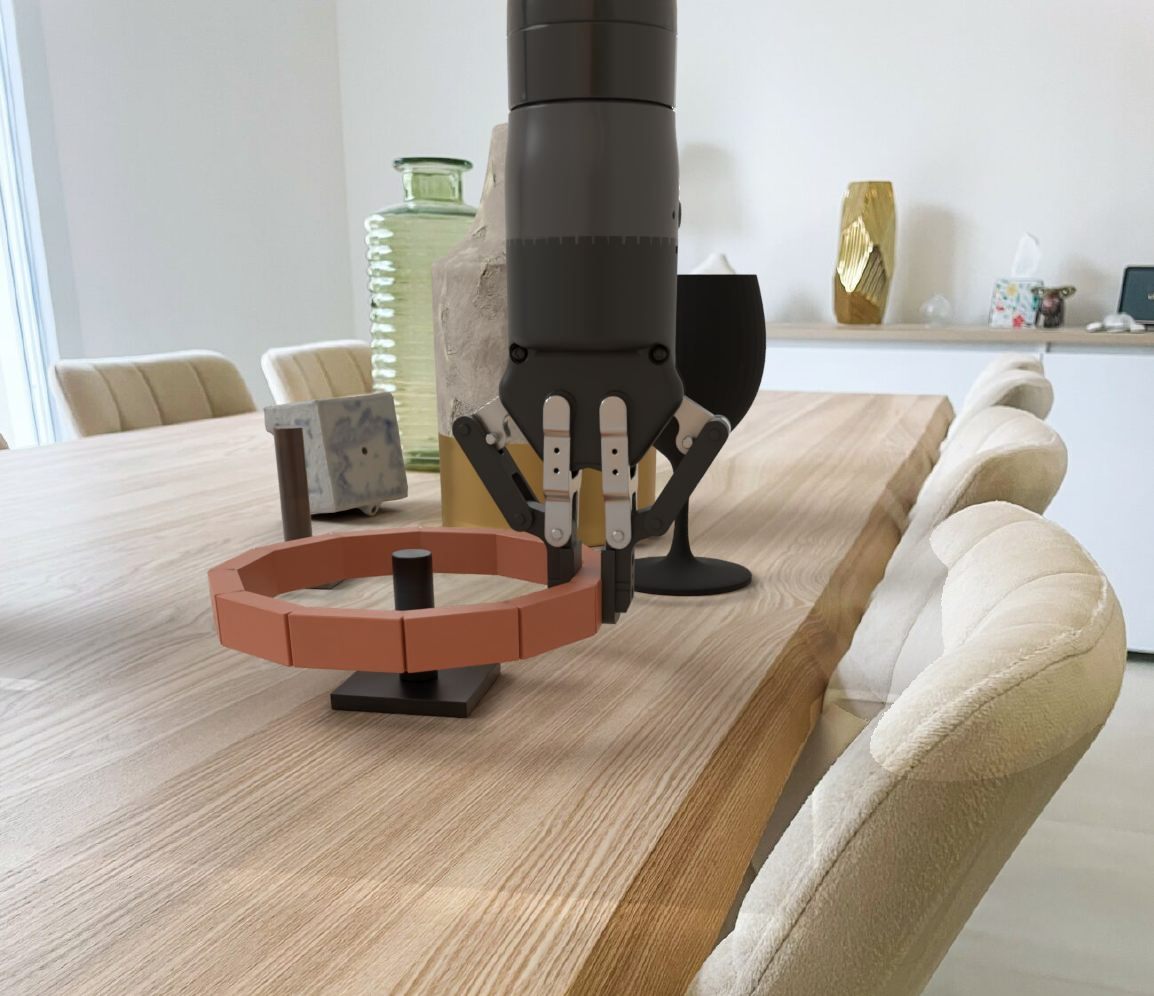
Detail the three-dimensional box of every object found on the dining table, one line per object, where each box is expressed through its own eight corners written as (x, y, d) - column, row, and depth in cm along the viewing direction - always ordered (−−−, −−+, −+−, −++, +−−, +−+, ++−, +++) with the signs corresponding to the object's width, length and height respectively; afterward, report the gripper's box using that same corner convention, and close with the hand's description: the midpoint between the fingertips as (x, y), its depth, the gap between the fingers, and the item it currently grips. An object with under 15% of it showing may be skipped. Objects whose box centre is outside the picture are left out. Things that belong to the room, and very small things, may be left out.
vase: (407, 540, 95) (382, 116, 83) (488, 502, 111) (477, 143, 99) (623, 554, 90) (629, 106, 78) (675, 512, 106) (687, 135, 94)
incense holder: (348, 500, 112) (339, 387, 108) (412, 508, 108) (405, 392, 104) (270, 515, 105) (258, 395, 100) (335, 525, 100) (325, 401, 96)
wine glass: (581, 570, 85) (581, 274, 77) (700, 555, 89) (712, 274, 81) (654, 602, 76) (662, 274, 68) (782, 584, 81) (803, 274, 73)
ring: (139, 660, 51) (131, 607, 50) (308, 562, 69) (304, 522, 68) (569, 682, 48) (569, 626, 47) (631, 574, 65) (631, 532, 65)
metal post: (330, 709, 57) (318, 566, 55) (377, 666, 64) (368, 536, 61) (467, 717, 56) (461, 572, 53) (500, 673, 63) (497, 541, 60)
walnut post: (235, 584, 81) (217, 431, 77) (276, 562, 87) (261, 420, 83) (330, 589, 80) (316, 433, 76) (364, 566, 86) (354, 421, 82)
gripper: (414, 230, 48) (436, 634, 54) (746, 226, 45) (726, 648, 52) (462, 236, 55) (476, 595, 61) (753, 233, 52) (734, 605, 59)
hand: (591, 618), depth 57 cm, fingers closed on ring, 1 cm apart
